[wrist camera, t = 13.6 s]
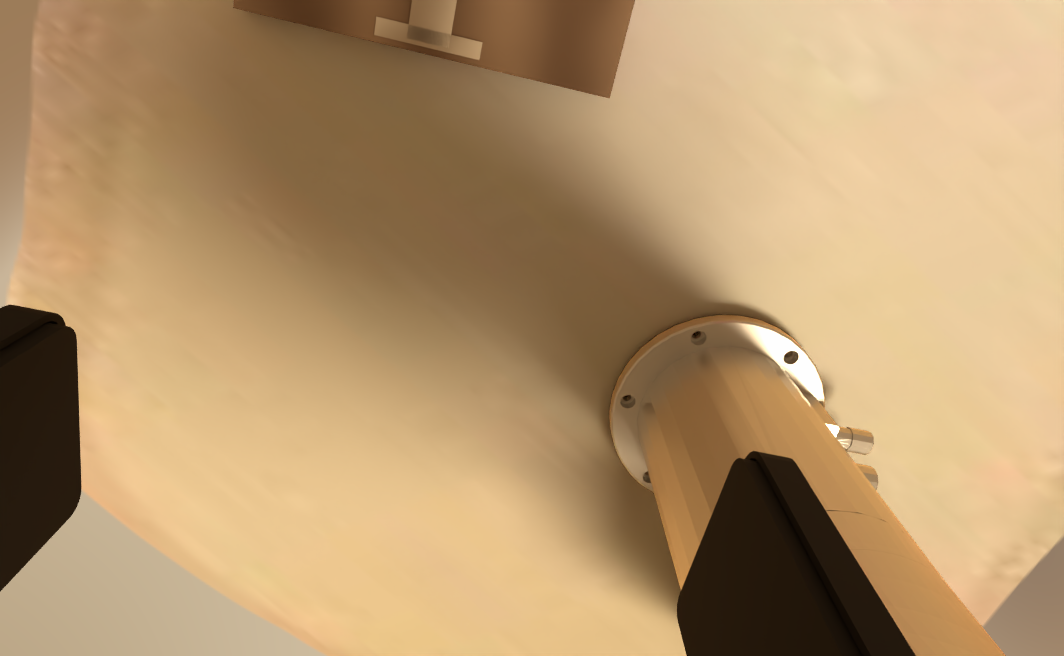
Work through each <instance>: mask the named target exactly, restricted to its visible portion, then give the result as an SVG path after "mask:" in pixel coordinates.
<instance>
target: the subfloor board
mask: <svg viewBox="0 0 1064 656" xmlns="http://www.w3.org/2000/svg"><path fill="white" fill-rule="evenodd" d="M634 1H635V0H234V7H233V8H236V9H240V10H245V11H249V12H253V13H257V14H261V15H265V16H270V17H274V18H278V19H282V20H286V21H290V22H294V23H299V24H303V25H307V26H311V27H315V28H319V29H324V30H328V31H332V32H336V33H340V34H344V35H348V36H353V37H357V38H361V39H365V40H369V41H373V42H378V43H382V44H386V45H390V46H394V47H398V48H403V49H407V50H411V51H415V52H419V53H423V54H427V55H432V56H436V57H440V58H444V59H448V60H452V61H457V62H461V63H465V64H469V65H473V66H477V67H482V68H486V69H490V70H494V71H498V72H502V73H506V74H511V75H515V76H519V77H523V78H527V79H531V80H536V81H540V82H544V83H548V84H552V85H556V86H560V87H565V88H569V89H573V90H577V91H581V92H585V93H590V94H594V95H598V96H602V97H606V98H610V94H611V91H612V87H613V83H614V79H615V75H616V71H617V67H618V63H619V60H620V56H621V52H622V48H623V44H624V40H625V36H626V32H627V29H628V25H629V21H630V17H631V13H632V9H633V5H634Z"/></svg>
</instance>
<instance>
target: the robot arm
mask: <svg viewBox="0 0 1064 656" xmlns="http://www.w3.org/2000/svg"><path fill="white" fill-rule="evenodd" d="M696 331H699V333H698V334H697V335H692V334H693V333H695V332H696ZM788 351H789V353H787V352H788ZM786 353H787V354H786ZM626 395H629V396H628V397H624V396H626ZM609 417H610V431H611V435H612V439H613V443H614V447H615V449H616V452H617V454H618V456H619V459H620V461H621V462H622V464H623V465H624V467H625V468H626V469H627V471H628V472H629V473H630V475H631V476H632V477H633V478H634V479H635V480H636V481H637V482H638V483H640V484H641V485H642V486H643V487H645V488H647V489H648V490H650V491H652V492H653V493H654V495H655V498H656V502H657V506H658V509H659V513H660V516H661V520H662V524H663V527H664V531H665V535H666V538H667V542H668V545H669V549H670V553H671V556H672V560H673V564H674V567H675V571H676V575H677V578H678V582H679V585H680V589H681V592H680V595H679V598H678V604H677V618H678V623H679V627H680V631H681V635H682V639H683V643H684V647H685V651H686V655H687V656H1006V655H1005V654H1004V653H1003V652H1002V650H1000V648H999V647H998V645H997V644H996V643H995V642H994V641H993V639H992V638H991V637H990V636H989V635H988V633H987V632H986V631H985V630H984V628H983V627H982V626H981V625H980V624H979V622H978V621H977V620H976V619H975V617H974V616H973V615H972V614H971V613H970V611H969V610H968V609H967V608H966V606H965V605H964V604H963V603H962V602H961V600H960V599H959V598H958V597H957V595H956V594H955V593H954V592H953V591H952V589H951V588H950V587H949V586H948V584H947V583H946V582H945V580H944V579H943V578H942V576H941V575H940V574H939V573H938V571H937V570H936V569H935V567H934V566H933V565H932V564H931V562H930V561H929V560H928V558H927V557H926V556H925V554H924V553H923V552H922V550H921V549H920V548H919V546H918V545H917V544H916V542H915V541H914V540H913V539H912V537H911V536H910V535H909V533H908V532H907V531H906V529H905V528H904V527H903V525H902V524H901V523H900V521H899V520H898V519H897V517H896V516H895V515H894V513H893V512H892V511H891V510H890V508H889V507H888V506H887V504H886V503H885V502H884V500H883V499H882V498H881V496H880V495H879V494H878V492H877V491H876V490H877V486H878V475H877V473H876V471H875V469H874V468H872V467H871V466H867V465H862V464H857V463H855V462H854V461H853V459H852V458H851V457H850V456H849V454H848V453H847V452H852V453H857V454H862V455H866V454H869V453H870V451H871V450H872V447H873V444H874V441H873V436H872V433H870V432H869V431H865V430H860V429H855V428H850V427H847V428H844V427H839V426H837V424H836V423H835V422H834V420H833V419H832V418H831V417H830V415H829V414H828V413H827V412H826V410H825V395H824V389H823V383H822V380H821V377H820V375H819V373H818V370H817V368H816V365H815V364H814V363H813V361H812V360H811V359H810V357H809V356H808V354H807V353H806V352H805V350H804V349H803V348H802V347H801V346H800V345H799V344H798V343H797V342H796V341H795V340H794V339H793V338H792V337H790V336H789V335H788V334H786V333H785V332H783V331H782V330H780V329H779V328H778V327H775V326H773V325H771V324H768V323H766V322H763V321H761V320H758V319H753V318H749V317H744V316H737V315H715V316H708V317H701V318H696V319H693V320H690V321H687V322H684V323H681V324H678V325H676V326H674V327H672V328H670V329H668V330H666V331H664V332H662V333H660V334H659V335H657V336H656V337H655V338H653V339H652V340H651V341H649V342H648V343H647V344H645V345H644V346H643V347H642V348H641V349H640V350H639V351H638V352H637V353H636V354H635V355H634V356H633V357H632V359H631V360H630V361H629V362H628V363H627V365H626V367H625V368H624V370H623V372H622V373H621V375H620V376H619V378H618V380H617V383H616V386H615V388H614V391H613V394H612V398H611V405H610V412H609ZM846 451H847V452H846ZM80 495H81V461H80V430H79V398H78V366H77V339H76V334H75V332H74V330H73V329H72V328H71V327H67V326H66V325H65V322H64V320H63V318H62V317H61V316H60V315H59V314H56V313H51V312H46V311H41V310H36V309H31V308H26V307H21V306H15V305H7V306H4V307H2V308H0V591H1V590H2V589H3V588H4V587H5V586H6V585H7V584H8V583H9V582H10V581H11V579H12V578H13V577H14V576H15V575H16V574H17V573H18V572H19V571H20V570H21V569H22V568H23V567H24V566H25V565H26V563H27V562H28V561H29V560H30V559H31V558H32V557H33V556H34V555H35V554H36V553H37V552H38V551H39V550H40V549H41V547H43V545H44V544H45V543H46V542H47V541H48V540H49V539H50V538H51V537H52V536H53V535H54V534H55V533H56V532H57V531H58V530H59V528H60V527H61V526H62V525H63V524H64V523H65V522H66V521H67V520H68V519H69V518H70V517H71V515H72V514H73V512H74V511H75V509H76V507H77V504H78V502H79V499H80Z"/></svg>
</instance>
